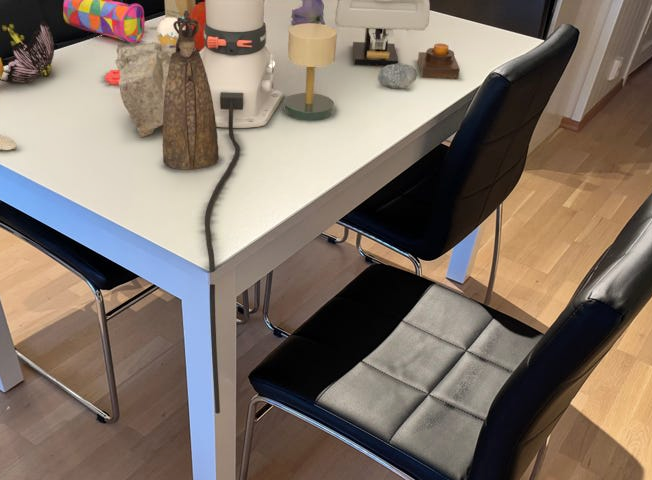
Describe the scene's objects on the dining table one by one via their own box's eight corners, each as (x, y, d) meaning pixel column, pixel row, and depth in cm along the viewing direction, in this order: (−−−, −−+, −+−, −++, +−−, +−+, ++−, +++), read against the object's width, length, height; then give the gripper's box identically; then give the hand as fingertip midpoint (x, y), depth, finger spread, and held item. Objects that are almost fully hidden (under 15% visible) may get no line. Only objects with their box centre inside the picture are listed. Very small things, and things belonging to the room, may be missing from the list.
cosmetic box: (166, 41, 165) (161, -16, 156) (175, 35, 168) (170, -20, 159) (189, 45, 163) (186, -12, 155) (198, 39, 166) (195, -16, 158)
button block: (457, 79, 152) (461, 60, 149) (422, 77, 152) (425, 58, 149) (451, 63, 160) (455, 45, 157) (417, 61, 160) (420, 43, 157)
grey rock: (416, 87, 148) (416, 62, 146) (418, 87, 145) (418, 61, 143) (377, 89, 149) (377, 65, 147) (378, 90, 146) (378, 64, 144)
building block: (105, 86, 143) (106, 72, 148) (144, 85, 144) (144, 71, 150) (104, 82, 142) (106, 68, 148) (143, 81, 143) (143, 67, 149)
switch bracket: (397, 66, 157) (403, 25, 151) (354, 64, 157) (357, 23, 151) (393, 49, 166) (398, 9, 160) (352, 47, 166) (356, 8, 160)
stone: (88, 44, 122) (127, 74, 114) (172, 30, 130) (214, 57, 122) (98, 115, 131) (134, 147, 123) (175, 98, 139) (215, 127, 131)
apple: (180, 52, 158) (176, 2, 151) (204, 39, 166) (202, -9, 158) (220, 61, 155) (218, 10, 148) (243, 47, 162) (243, -2, 155)
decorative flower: (71, 57, 137) (70, 36, 148) (20, 12, 130) (23, -6, 141) (27, 110, 141) (29, 86, 152) (-25, 69, 134) (-19, 47, 145)
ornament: (150, 42, 155) (157, 5, 154) (160, 51, 162) (166, 16, 161) (179, 48, 155) (186, 11, 153) (187, 57, 162) (193, 22, 160)
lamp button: (448, 56, 152) (449, 48, 151) (433, 56, 152) (435, 47, 151) (446, 51, 155) (447, 43, 153) (432, 51, 155) (433, 43, 153)
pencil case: (61, -20, 163) (90, -12, 170) (56, 22, 167) (85, 28, 174) (126, 0, 154) (153, 7, 162) (119, 44, 158) (147, 49, 165)
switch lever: (388, 61, 154) (389, 53, 152) (366, 60, 154) (367, 52, 152) (388, 25, 158) (389, 16, 156) (366, 24, 158) (367, 15, 156)
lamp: (333, 121, 133) (340, 40, 123) (282, 119, 133) (284, 38, 123) (333, 101, 141) (339, 23, 130) (284, 99, 141) (287, 21, 130)
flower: (344, 3, 170) (311, -21, 169) (327, 26, 167) (293, 1, 166) (333, 28, 178) (301, 5, 178) (317, 50, 176) (284, 27, 175)
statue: (188, 177, 115) (177, 17, 98) (158, 163, 118) (141, 6, 101) (224, 160, 120) (219, 5, 103) (194, 147, 123) (184, -5, 106)
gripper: (336, -19, 141) (331, 51, 150) (436, -14, 141) (424, 55, 150) (336, -27, 145) (331, 42, 155) (432, -22, 145) (421, 46, 155)
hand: (378, 48), depth 152 cm, fingers closed
